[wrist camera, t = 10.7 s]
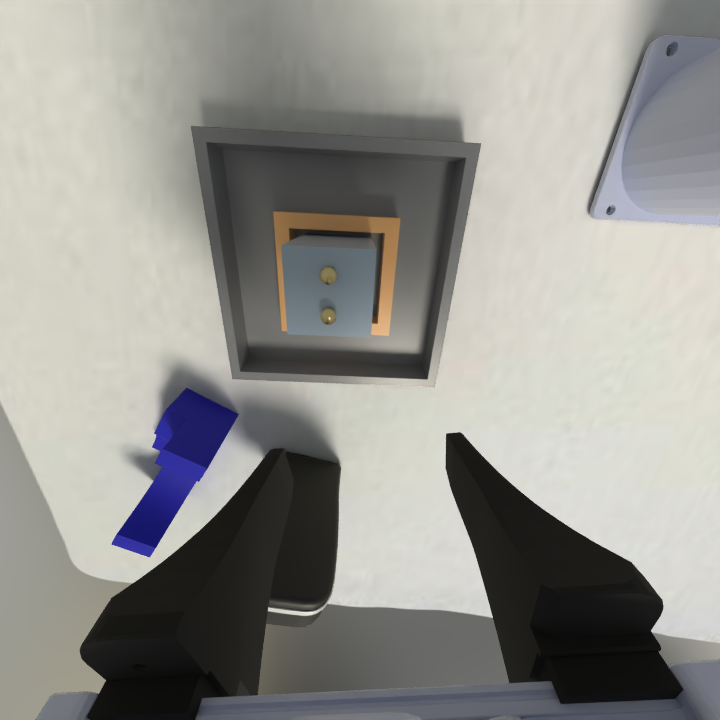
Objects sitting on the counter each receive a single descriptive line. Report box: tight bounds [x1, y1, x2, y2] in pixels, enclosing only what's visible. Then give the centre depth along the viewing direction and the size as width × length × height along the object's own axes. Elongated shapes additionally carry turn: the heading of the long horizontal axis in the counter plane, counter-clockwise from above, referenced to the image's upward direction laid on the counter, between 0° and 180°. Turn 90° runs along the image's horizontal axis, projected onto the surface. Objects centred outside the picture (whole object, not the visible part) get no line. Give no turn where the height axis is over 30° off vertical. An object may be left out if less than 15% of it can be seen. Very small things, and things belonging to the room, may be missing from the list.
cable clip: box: [112, 388, 239, 557], centre depth 24 cm, size 12×4×6 cm, turn 145°
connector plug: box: [281, 233, 377, 338], centre depth 16 cm, size 4×4×7 cm
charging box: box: [191, 126, 481, 387], centre depth 19 cm, size 14×14×2 cm
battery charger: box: [266, 452, 341, 627], centre depth 23 cm, size 7×4×11 cm, turn 73°
